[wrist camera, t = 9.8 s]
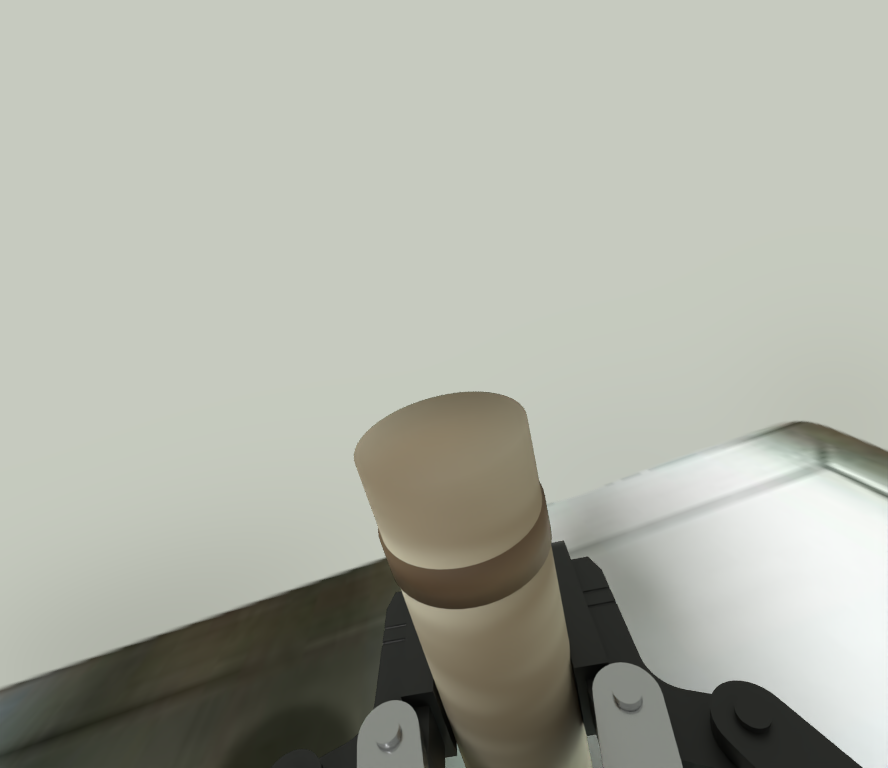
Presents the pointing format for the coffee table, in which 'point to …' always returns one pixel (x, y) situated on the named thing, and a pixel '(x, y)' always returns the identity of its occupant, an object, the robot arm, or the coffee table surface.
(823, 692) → the coffee table surface
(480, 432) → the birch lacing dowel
